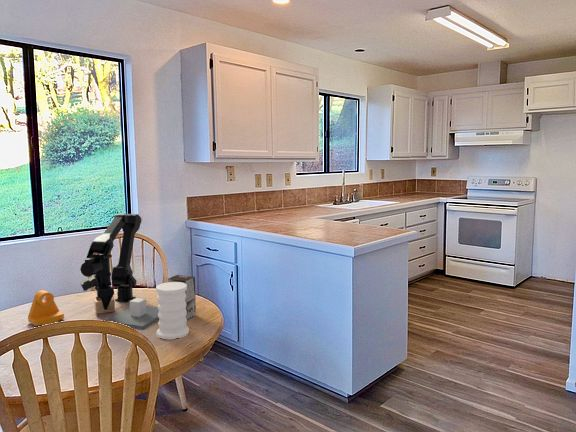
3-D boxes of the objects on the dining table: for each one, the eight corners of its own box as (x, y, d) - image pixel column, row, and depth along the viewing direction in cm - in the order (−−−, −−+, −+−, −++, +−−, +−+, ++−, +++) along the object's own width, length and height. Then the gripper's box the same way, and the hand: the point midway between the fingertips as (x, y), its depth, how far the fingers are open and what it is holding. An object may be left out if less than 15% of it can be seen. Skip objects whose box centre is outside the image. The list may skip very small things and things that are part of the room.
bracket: (35, 328, 168) (33, 297, 166) (28, 323, 173) (26, 293, 171) (65, 320, 176) (63, 290, 174) (57, 315, 181) (55, 287, 179)
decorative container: (163, 342, 156) (161, 293, 153) (152, 332, 165) (150, 284, 162) (194, 335, 162) (193, 287, 160) (181, 325, 172) (180, 279, 169)
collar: (94, 308, 187) (93, 296, 186) (112, 305, 190) (112, 294, 189) (96, 313, 180) (95, 301, 180) (115, 311, 184) (114, 299, 183)
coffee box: (196, 315, 182) (195, 276, 180) (186, 320, 177) (185, 280, 174) (178, 311, 186) (177, 274, 184) (168, 316, 180) (167, 278, 178)
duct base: (134, 306, 192) (134, 290, 191) (171, 311, 186) (171, 294, 185) (102, 323, 173) (101, 305, 172) (142, 329, 167) (141, 310, 166)
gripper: (79, 267, 187) (81, 303, 190) (82, 278, 171) (84, 317, 173) (108, 264, 193) (109, 299, 195) (113, 274, 176) (115, 312, 178)
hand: (104, 306), depth 185 cm, fingers closed on collar, 7 cm apart
